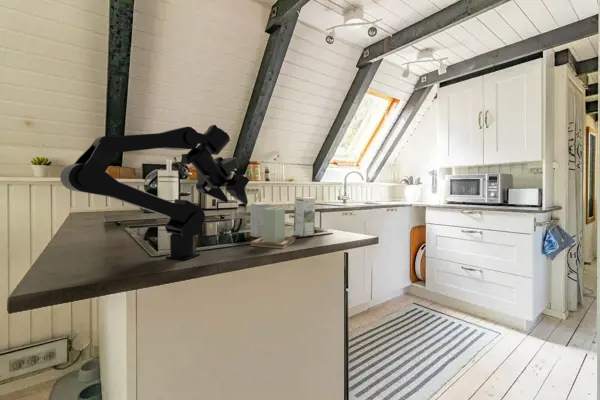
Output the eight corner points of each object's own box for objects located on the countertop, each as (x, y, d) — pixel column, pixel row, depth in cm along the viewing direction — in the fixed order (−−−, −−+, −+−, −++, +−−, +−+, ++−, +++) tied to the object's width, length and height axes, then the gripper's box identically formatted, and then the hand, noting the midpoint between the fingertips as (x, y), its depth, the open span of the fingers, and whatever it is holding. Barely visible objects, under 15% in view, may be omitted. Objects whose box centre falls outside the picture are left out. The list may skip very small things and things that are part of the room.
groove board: (283, 248, 91) (283, 244, 91) (250, 245, 94) (250, 241, 94) (295, 240, 102) (295, 237, 102) (265, 238, 106) (265, 235, 106)
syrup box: (304, 233, 117) (305, 196, 116) (314, 235, 112) (315, 197, 111) (293, 234, 113) (293, 196, 112) (303, 237, 109) (303, 197, 108)
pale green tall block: (275, 244, 95) (275, 209, 94) (263, 242, 98) (263, 208, 97) (284, 241, 99) (284, 208, 98) (272, 239, 102) (273, 207, 101)
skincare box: (256, 237, 107) (257, 204, 106) (249, 236, 110) (249, 203, 109) (270, 235, 111) (270, 203, 110) (263, 234, 114) (263, 202, 113)
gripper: (244, 145, 83) (271, 184, 92) (203, 148, 94) (231, 183, 104) (221, 173, 77) (252, 212, 87) (181, 173, 88) (212, 207, 98)
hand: (236, 202), depth 94 cm, fingers open, 9 cm apart
